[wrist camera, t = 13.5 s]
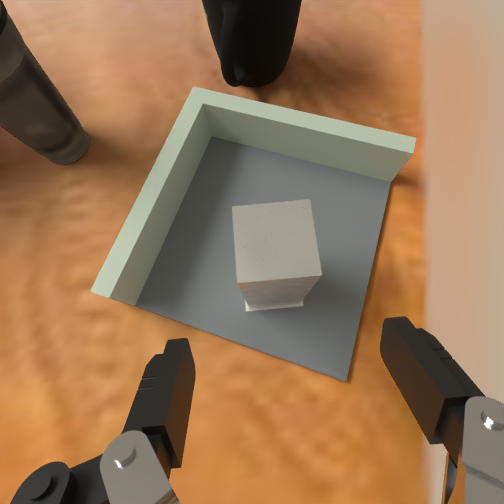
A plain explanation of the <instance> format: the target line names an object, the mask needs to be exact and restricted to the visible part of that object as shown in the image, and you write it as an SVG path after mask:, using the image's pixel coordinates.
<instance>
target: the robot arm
mask: <svg viewBox="0 0 504 504" xmlns="http://www.w3.org/2000/svg"><path fill="white" fill-rule="evenodd" d="M380 352H381V356H382V359H383V361H384V363H385V365H386V367H387V369H388V370H389V372H390V374H391V376H392V378H393V379H394V381H395V383H396V385H397V386H398V388H399V390H400V392H401V393H402V395H403V397H404V399H405V401H406V402H407V404H408V406H409V408H410V409H411V411H412V413H413V415H414V417H415V418H416V420H417V422H418V424H419V425H420V427H421V429H422V431H423V432H424V434H425V436H426V438H427V440H428V441H429V443H430V445H431V444H441V443H443V444H444V446H445V448H446V449H447V451H448V453H447V456H446V465H445V475H444V484H443V494H442V503H441V504H504V404H503V403H501V402H499V401H497V400H494V399H491V398H488V397H486V396H485V395H484V394H483V393H482V392H481V391H480V389H479V388H478V387H477V386H476V385H475V384H474V382H473V381H472V380H471V379H470V378H469V376H468V375H467V374H466V373H465V372H464V371H463V370H462V368H461V367H460V366H459V365H458V363H457V362H456V361H455V360H453V359H452V356H451V355H450V354H449V353H448V352H447V351H446V350H445V349H444V347H443V346H442V345H441V344H440V343H439V341H438V340H437V339H436V338H435V337H434V336H433V335H431V334H430V333H428V332H427V331H425V330H424V329H422V328H418V329H416V328H415V327H414V325H413V324H412V323H411V322H410V320H409V319H408V318H407V317H405V316H403V317H393V318H385V319H384V322H383V329H382V336H381V343H380ZM194 384H195V364H194V360H193V356H192V352H191V349H190V345H189V341H188V339H187V338H181V339H172V340H168V341H167V343H166V346H165V350H164V353H163V354H156V355H155V356H154V357H153V358H152V359H151V360H150V362H149V363H148V364H147V365H146V368H145V371H144V373H143V376H142V380H141V382H140V385H139V387H138V388H139V389H138V390H137V393H136V396H135V399H134V401H133V404H132V407H131V410H130V412H129V415H128V418H127V421H126V424H125V426H124V429H123V431H122V433H121V435H119V436H118V437H117V438H115V439H114V440H113V441H112V442H111V443H110V444H109V445H108V446H107V448H106V449H105V451H104V453H103V454H101V455H99V456H97V457H95V458H93V459H91V460H89V461H86V462H84V463H82V464H79V465H77V466H75V467H72V468H70V469H69V468H68V466H67V465H66V464H65V463H63V462H51V463H48V464H46V465H44V466H42V467H40V468H39V469H37V470H36V471H34V472H33V473H32V474H31V475H30V476H29V477H28V478H27V479H26V480H25V481H24V482H23V483H22V484H21V486H20V487H19V489H18V490H17V492H16V494H15V495H14V497H13V499H12V501H11V503H10V504H180V502H179V500H178V498H177V496H176V494H175V493H174V491H173V489H172V487H171V485H170V483H169V477H170V471H171V469H172V468H181V464H182V458H183V452H184V446H185V439H186V433H187V427H188V421H189V415H190V409H191V402H192V396H193V390H194Z"/></svg>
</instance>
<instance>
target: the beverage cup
mask: <svg viewBox="0 0 504 504" xmlns="http://www.w3.org/2000/svg"><path fill="white" fill-rule="evenodd" d="M0 126H1V127H2V128H4V129H5V130H7V131H8V132H9V133H11V134H12V135H14V136H15V137H17V138H18V139H19V140H21V141H22V142H24V143H25V144H26V145H28V146H29V147H31V148H32V149H34V150H35V151H36V152H38V153H39V154H42V155H43V156H45V157H46V158H48V159H50V160H51V161H52V162H54V163H56V164H63V165H66V164H70V163H73V162H75V161H77V160H79V159H80V158H81V157H82V156H84V155H85V153H86V152H87V150H88V148H89V144H90V141H89V137H88V135H87V133H86V132H85V131H84V129H83V127H82V126H81V124H80V122H79V120H78V119H77V117H76V116H75V115H74V113H73V112H72V110H71V109H70V107H69V106H68V105H67V103H66V102H65V100H64V99H63V97H62V96H61V95H60V93H59V92H58V90H57V89H56V87H55V86H54V85H53V83H52V82H51V80H50V79H49V77H48V76H47V75H46V73H45V72H44V70H43V69H42V67H41V66H40V65H39V63H38V62H37V60H36V59H35V57H34V56H33V55H32V53H31V52H30V50H29V49H28V47H27V46H26V45H25V43H24V41H23V39H22V37H21V35H20V33H19V31H18V29H17V28H16V26H15V24H14V22H13V21H12V19H11V17H10V16H9V14H8V13H7V10H6V8H5V6H4V4H3V2H2V1H1V0H0Z"/></svg>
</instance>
